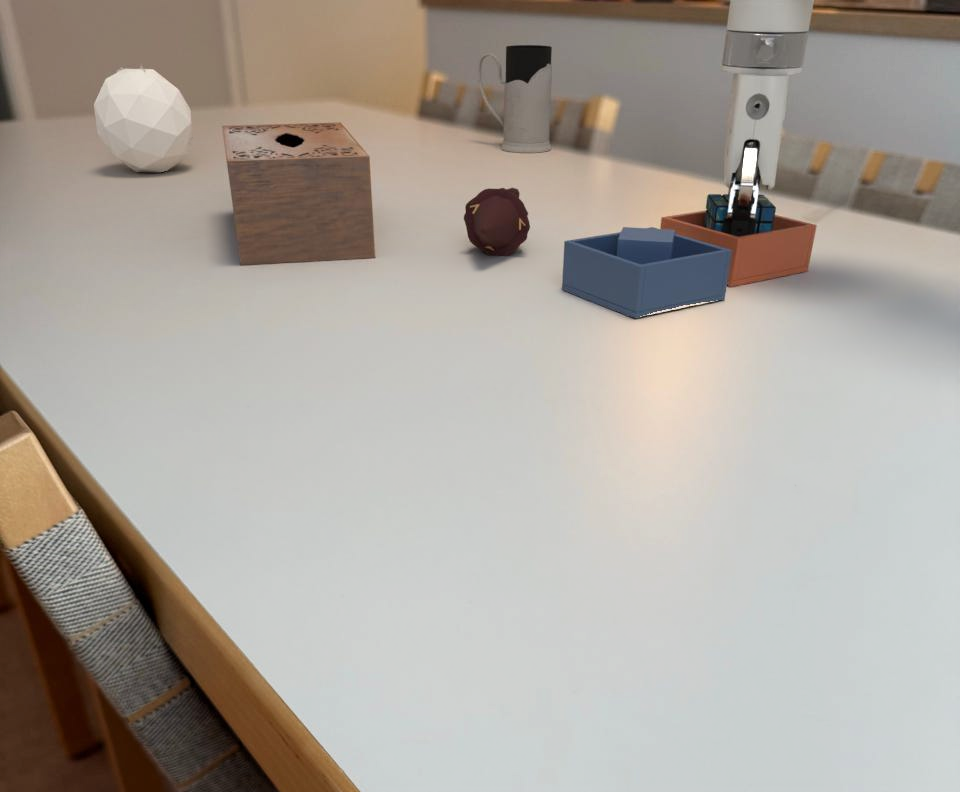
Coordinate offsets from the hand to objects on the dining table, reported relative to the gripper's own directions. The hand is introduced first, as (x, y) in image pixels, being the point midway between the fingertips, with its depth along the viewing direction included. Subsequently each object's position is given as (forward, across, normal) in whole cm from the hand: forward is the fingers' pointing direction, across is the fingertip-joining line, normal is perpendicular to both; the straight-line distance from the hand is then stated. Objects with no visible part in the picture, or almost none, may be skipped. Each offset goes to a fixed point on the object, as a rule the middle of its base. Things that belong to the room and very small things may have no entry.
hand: (734, 250), depth 101 cm
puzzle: (+1, 0, 0) cm, 1 cm away
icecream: (+2, 0, +26) cm, 26 cm away
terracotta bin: (+2, 0, 0) cm, 2 cm away
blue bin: (+2, -13, +8) cm, 15 cm away
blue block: (+1, -13, +9) cm, 15 cm away
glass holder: (+2, +73, +37) cm, 82 cm away
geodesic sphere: (+2, +38, +87) cm, 95 cm away
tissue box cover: (+2, +4, +50) cm, 50 cm away
